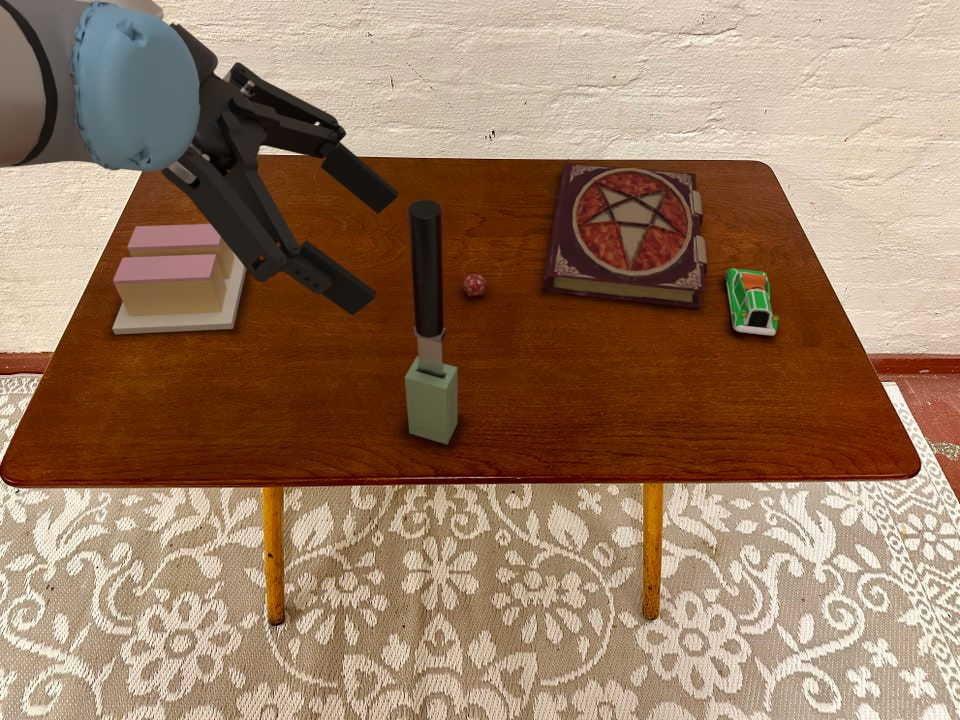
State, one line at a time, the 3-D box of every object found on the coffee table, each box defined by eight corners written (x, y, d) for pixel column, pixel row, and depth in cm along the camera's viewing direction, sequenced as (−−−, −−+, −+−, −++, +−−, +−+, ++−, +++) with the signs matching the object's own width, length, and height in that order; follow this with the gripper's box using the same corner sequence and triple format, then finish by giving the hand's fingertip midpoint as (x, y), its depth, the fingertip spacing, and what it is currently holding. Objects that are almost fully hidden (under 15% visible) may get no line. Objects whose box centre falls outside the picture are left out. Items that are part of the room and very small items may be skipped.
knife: (440, 429, 71) (435, 221, 52) (416, 422, 72) (401, 213, 53) (449, 411, 73) (447, 203, 54) (425, 404, 74) (414, 196, 55)
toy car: (773, 343, 84) (786, 317, 81) (731, 338, 85) (742, 312, 82) (760, 281, 92) (771, 256, 89) (722, 277, 93) (731, 251, 90)
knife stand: (447, 444, 72) (446, 389, 66) (409, 433, 73) (404, 377, 67) (457, 423, 74) (457, 367, 68) (420, 412, 75) (417, 355, 69)
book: (561, 180, 110) (564, 152, 106) (695, 192, 107) (703, 163, 104) (542, 294, 91) (544, 264, 87) (705, 312, 88) (714, 282, 84)
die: (489, 297, 89) (490, 279, 87) (468, 303, 88) (469, 286, 86) (479, 283, 91) (479, 266, 89) (458, 290, 90) (458, 272, 88)
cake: (233, 329, 84) (219, 287, 79) (114, 334, 83) (93, 293, 78) (250, 253, 94) (238, 213, 89) (144, 257, 93) (127, 217, 88)
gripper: (175, 28, 57) (371, 192, 67) (24, 196, 40) (319, 380, 50) (222, -40, 53) (422, 145, 64) (78, 113, 36) (386, 332, 46)
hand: (377, 249), depth 57 cm, fingers open, 13 cm apart
